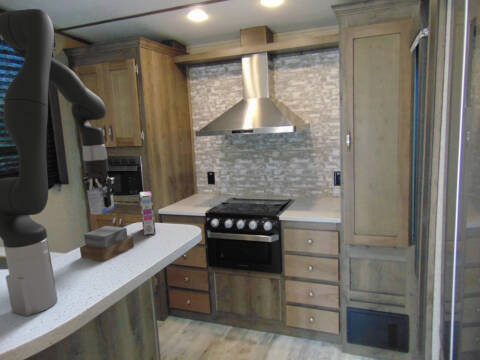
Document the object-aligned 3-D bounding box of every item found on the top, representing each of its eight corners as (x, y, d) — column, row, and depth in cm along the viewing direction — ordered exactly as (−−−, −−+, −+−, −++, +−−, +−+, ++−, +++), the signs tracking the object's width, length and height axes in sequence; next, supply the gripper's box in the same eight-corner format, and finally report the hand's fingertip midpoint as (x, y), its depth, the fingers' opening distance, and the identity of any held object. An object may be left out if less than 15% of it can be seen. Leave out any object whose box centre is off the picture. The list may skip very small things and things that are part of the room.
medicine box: (101, 214, 116) (98, 189, 115) (90, 214, 117) (86, 189, 116) (114, 208, 124) (111, 185, 122) (103, 208, 125) (100, 185, 123)
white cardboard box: (156, 234, 140) (152, 195, 138) (143, 236, 139) (139, 196, 136) (154, 226, 151) (150, 190, 148) (143, 228, 149) (138, 191, 147)
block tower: (103, 261, 114) (100, 238, 113) (81, 257, 119) (78, 235, 118) (133, 247, 126) (131, 226, 125) (112, 244, 131) (109, 224, 130)
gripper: (71, 160, 117) (79, 208, 120) (101, 159, 111) (108, 210, 113) (90, 157, 124) (96, 202, 127) (119, 156, 117) (125, 205, 120)
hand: (102, 206), depth 120 cm, fingers closed on medicine box, 5 cm apart
